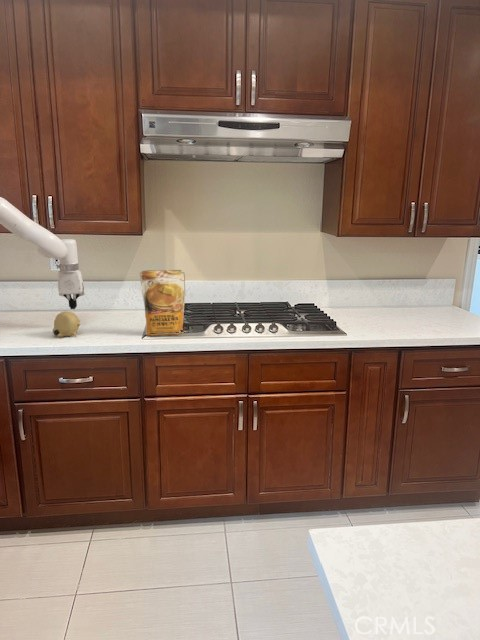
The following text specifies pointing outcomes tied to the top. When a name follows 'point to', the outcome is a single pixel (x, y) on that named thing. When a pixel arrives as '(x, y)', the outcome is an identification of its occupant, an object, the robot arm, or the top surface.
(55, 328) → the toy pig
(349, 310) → the top surface
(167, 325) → the pancake mix bag
